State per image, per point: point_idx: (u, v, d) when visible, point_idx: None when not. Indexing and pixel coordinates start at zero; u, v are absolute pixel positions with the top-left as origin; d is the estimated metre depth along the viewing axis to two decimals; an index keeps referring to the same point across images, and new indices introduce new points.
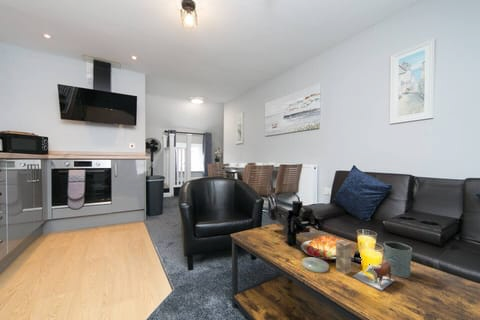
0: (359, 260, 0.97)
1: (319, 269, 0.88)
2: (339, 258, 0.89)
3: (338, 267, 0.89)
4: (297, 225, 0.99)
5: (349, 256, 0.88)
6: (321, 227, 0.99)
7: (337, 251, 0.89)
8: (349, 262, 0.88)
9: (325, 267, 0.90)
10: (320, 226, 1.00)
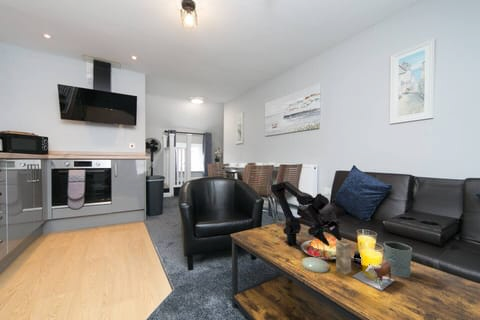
0: (359, 261, 0.96)
1: (319, 269, 0.88)
2: (339, 258, 0.89)
3: (338, 267, 0.89)
4: (318, 232, 0.93)
5: (349, 256, 0.88)
6: (336, 235, 0.97)
7: (337, 251, 0.89)
8: (349, 262, 0.88)
9: (325, 267, 0.90)
10: (336, 233, 0.98)
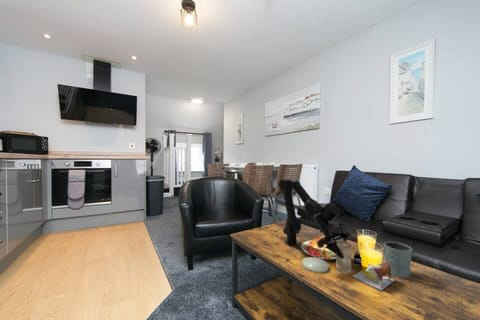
0: (359, 261, 0.96)
1: (319, 269, 0.88)
2: (339, 258, 0.89)
3: (338, 267, 0.89)
4: (331, 244, 0.89)
5: (349, 256, 0.88)
6: None
7: None
8: (349, 262, 0.88)
9: (325, 267, 0.90)
10: None
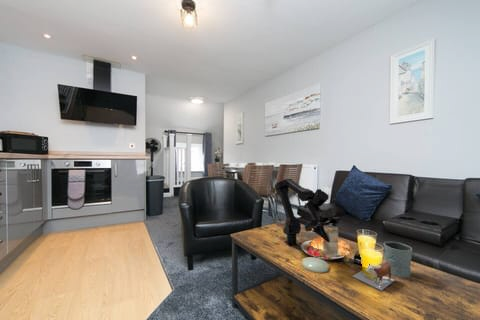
0: (359, 262, 0.95)
1: (319, 269, 0.88)
2: (325, 242, 0.90)
3: (324, 250, 0.91)
4: (318, 228, 0.91)
5: (336, 240, 0.89)
6: None
7: None
8: (336, 246, 0.89)
9: (325, 267, 0.90)
10: None
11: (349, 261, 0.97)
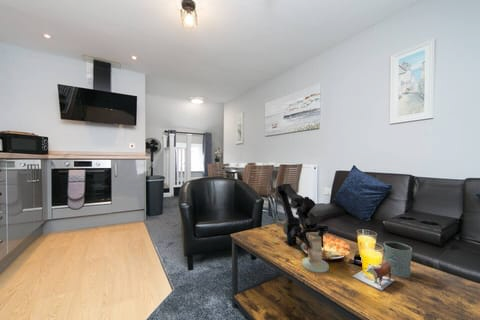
0: (359, 263, 0.95)
1: (319, 269, 0.88)
2: (310, 251, 0.94)
3: (309, 258, 0.94)
4: (300, 234, 0.95)
5: (319, 249, 0.92)
6: None
7: None
8: (319, 255, 0.91)
9: (325, 267, 0.90)
10: None
11: (349, 262, 0.97)
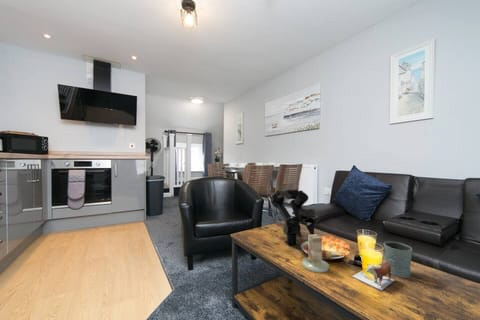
0: (359, 263, 0.94)
1: (319, 269, 0.88)
2: (310, 251, 0.94)
3: (309, 259, 0.94)
4: (294, 224, 1.03)
5: (319, 250, 0.91)
6: (311, 230, 1.07)
7: (309, 244, 0.94)
8: (319, 255, 0.91)
9: (325, 267, 0.90)
10: (310, 229, 1.07)
11: (349, 262, 0.96)
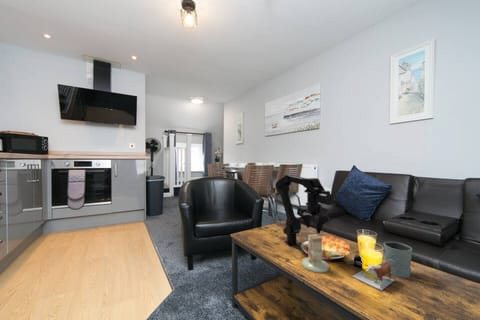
0: (359, 264, 0.93)
1: (319, 269, 0.88)
2: (310, 251, 0.94)
3: (309, 259, 0.94)
4: None
5: (319, 250, 0.91)
6: (307, 221, 1.09)
7: (309, 244, 0.94)
8: (319, 255, 0.91)
9: (325, 267, 0.90)
10: (307, 220, 1.09)
11: (349, 263, 0.95)
